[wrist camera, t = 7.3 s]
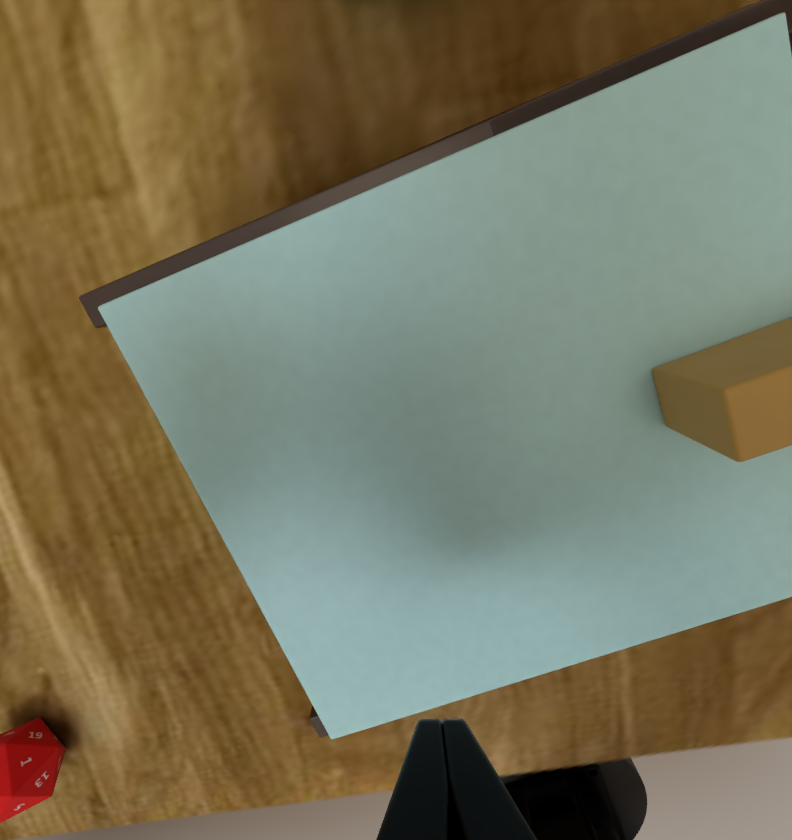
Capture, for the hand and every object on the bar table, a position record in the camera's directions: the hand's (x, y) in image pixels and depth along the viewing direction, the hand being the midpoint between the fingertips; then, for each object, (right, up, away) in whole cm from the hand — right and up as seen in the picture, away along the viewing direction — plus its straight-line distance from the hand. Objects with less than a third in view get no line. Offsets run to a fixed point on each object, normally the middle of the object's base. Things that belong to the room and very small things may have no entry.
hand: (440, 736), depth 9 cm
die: (-18, -10, +15) cm, 25 cm away
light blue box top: (+2, +5, +3) cm, 6 cm away
